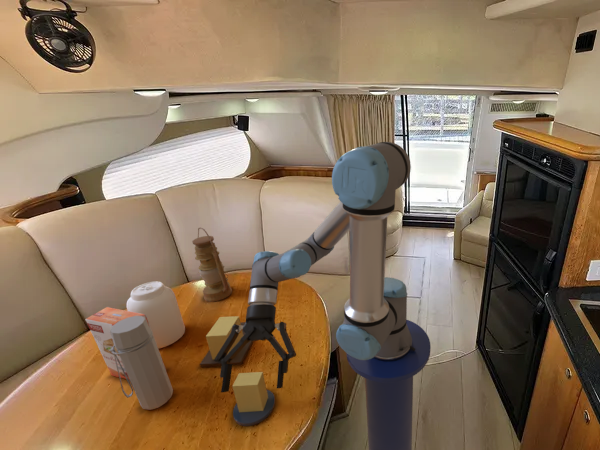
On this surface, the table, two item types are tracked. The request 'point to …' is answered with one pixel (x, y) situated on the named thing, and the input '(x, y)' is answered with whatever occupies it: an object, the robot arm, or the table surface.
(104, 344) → the cracker box
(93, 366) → the table surface
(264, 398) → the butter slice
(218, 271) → the lantern
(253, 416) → the plate
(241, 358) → the butter board
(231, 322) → the butter block
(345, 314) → the robot arm
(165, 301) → the white jar
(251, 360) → the table surface
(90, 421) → the table surface
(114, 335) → the water bottle
